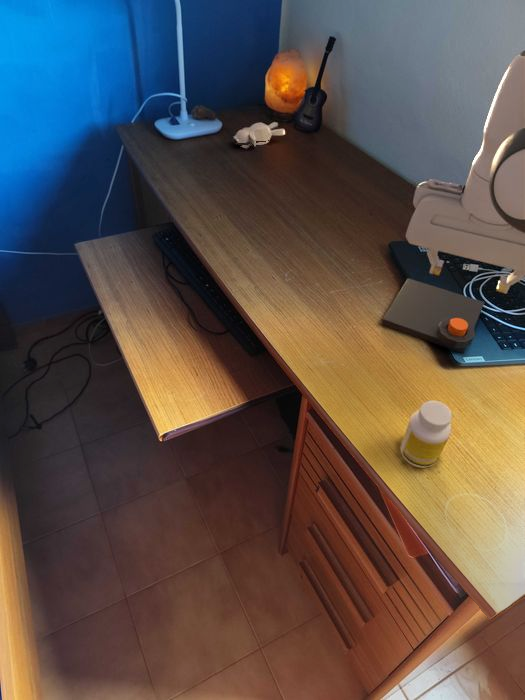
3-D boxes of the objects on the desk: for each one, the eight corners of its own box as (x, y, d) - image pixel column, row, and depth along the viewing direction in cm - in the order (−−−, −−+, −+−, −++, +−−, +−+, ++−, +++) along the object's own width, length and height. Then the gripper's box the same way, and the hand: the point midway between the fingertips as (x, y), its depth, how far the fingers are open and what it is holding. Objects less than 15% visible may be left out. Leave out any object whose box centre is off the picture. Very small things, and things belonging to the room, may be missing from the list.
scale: (484, 308, 89) (490, 296, 87) (464, 358, 80) (469, 346, 78) (406, 283, 95) (409, 271, 92) (379, 327, 86) (382, 315, 84)
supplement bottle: (442, 469, 66) (462, 430, 59) (403, 468, 66) (419, 429, 59) (433, 436, 69) (451, 396, 62) (396, 436, 70) (410, 396, 62)
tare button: (467, 328, 81) (470, 321, 80) (462, 339, 80) (465, 331, 78) (450, 323, 83) (452, 315, 81) (445, 333, 81) (447, 325, 79)
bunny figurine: (229, 127, 142) (274, 114, 144) (232, 144, 146) (275, 130, 148) (239, 139, 136) (286, 124, 138) (242, 156, 140) (287, 141, 142)
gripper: (412, 187, 59) (391, 274, 69) (590, 224, 53) (539, 314, 63) (424, 166, 63) (403, 251, 73) (591, 199, 57) (543, 287, 67)
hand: (467, 281), depth 68 cm, fingers open, 8 cm apart
